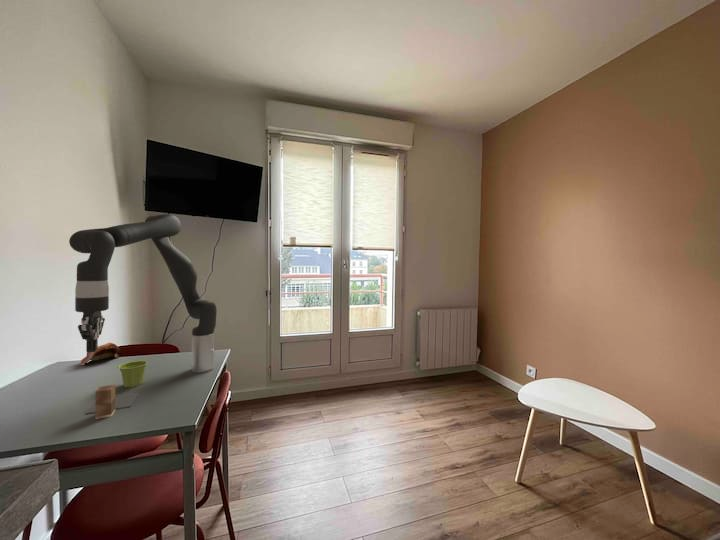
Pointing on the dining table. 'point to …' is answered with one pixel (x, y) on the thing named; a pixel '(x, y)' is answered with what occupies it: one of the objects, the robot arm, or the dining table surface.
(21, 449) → the dining table surface
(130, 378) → the plant pot
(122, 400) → the mat
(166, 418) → the dining table surface
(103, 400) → the tan wooden block
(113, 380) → the dining table surface
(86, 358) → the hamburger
